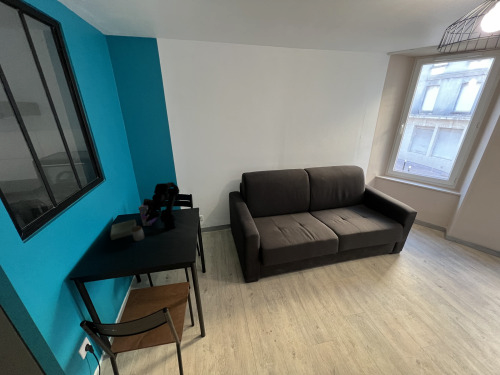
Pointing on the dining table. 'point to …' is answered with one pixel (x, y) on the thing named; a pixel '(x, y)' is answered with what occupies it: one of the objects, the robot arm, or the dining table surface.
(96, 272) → the dining table surface
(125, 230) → the bin
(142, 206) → the candy box
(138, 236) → the jar
